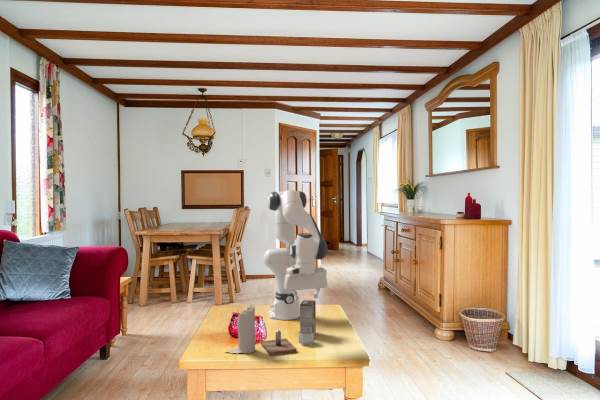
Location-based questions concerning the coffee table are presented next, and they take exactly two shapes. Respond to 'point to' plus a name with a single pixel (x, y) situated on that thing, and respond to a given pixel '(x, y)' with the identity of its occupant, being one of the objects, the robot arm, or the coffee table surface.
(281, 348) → the post board
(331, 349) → the coffee table surface
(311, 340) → the collar
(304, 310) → the coffee box
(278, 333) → the steel post
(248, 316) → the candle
